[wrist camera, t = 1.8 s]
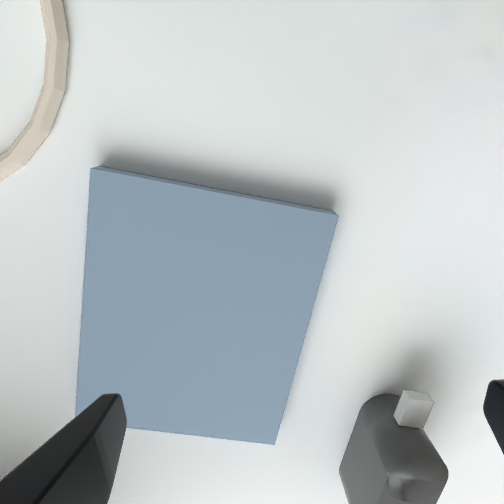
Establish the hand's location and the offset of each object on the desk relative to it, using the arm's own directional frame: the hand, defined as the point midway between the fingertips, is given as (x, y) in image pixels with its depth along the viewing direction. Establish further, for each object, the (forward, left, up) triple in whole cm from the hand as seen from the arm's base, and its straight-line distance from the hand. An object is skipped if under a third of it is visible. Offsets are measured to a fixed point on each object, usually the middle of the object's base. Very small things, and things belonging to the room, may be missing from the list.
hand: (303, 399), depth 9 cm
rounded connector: (-13, -11, -13) cm, 22 cm away
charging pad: (-5, +3, -13) cm, 14 cm away
